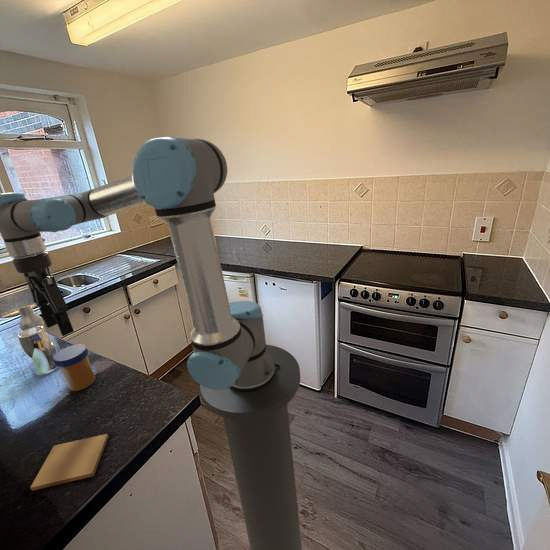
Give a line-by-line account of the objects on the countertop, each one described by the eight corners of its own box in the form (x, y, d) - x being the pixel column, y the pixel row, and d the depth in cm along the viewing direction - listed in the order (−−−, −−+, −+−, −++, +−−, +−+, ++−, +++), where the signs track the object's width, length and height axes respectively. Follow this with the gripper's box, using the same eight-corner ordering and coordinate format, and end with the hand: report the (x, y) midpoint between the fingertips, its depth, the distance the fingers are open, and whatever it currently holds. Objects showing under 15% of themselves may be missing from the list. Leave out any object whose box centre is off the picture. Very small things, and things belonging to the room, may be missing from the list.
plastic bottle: (47, 351, 110) (26, 303, 103) (62, 352, 109) (41, 304, 102) (31, 363, 105) (7, 313, 97) (46, 364, 103) (23, 313, 96)
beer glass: (64, 365, 102) (48, 327, 96) (43, 378, 96) (24, 339, 90) (52, 361, 104) (35, 324, 99) (30, 374, 99) (11, 335, 93)
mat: (109, 436, 72) (107, 433, 72) (93, 476, 63) (92, 473, 63) (55, 448, 70) (53, 445, 70) (31, 491, 61) (29, 487, 61)
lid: (92, 347, 93) (90, 341, 92) (81, 363, 86) (79, 357, 85) (63, 352, 92) (61, 347, 91) (50, 369, 84) (47, 363, 84)
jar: (99, 372, 96) (88, 344, 92) (90, 388, 89) (78, 358, 85) (75, 377, 95) (63, 349, 91) (64, 393, 88) (51, 363, 84)
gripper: (64, 254, 74) (92, 332, 82) (30, 246, 86) (58, 315, 94) (28, 264, 68) (62, 346, 76) (-3, 254, 80) (30, 326, 88)
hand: (60, 329), depth 85 cm, fingers open, 9 cm apart
